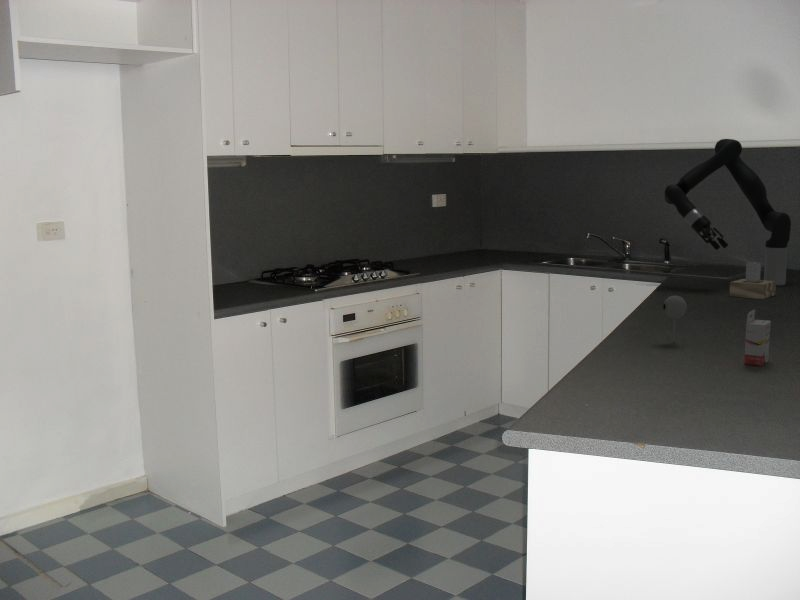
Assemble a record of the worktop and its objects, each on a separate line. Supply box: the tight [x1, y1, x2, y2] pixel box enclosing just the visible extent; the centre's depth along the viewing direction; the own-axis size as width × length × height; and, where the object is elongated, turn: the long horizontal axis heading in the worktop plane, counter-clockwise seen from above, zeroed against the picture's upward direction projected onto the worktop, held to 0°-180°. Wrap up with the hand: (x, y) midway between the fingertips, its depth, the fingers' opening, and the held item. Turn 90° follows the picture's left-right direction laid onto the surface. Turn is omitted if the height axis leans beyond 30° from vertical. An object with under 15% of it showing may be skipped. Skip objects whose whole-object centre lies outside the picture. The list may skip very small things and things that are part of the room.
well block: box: [729, 278, 777, 300], centre depth 376 cm, size 14×14×6 cm
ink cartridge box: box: [744, 309, 772, 367], centre depth 250 cm, size 9×5×15 cm, turn 145°
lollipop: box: [662, 295, 688, 343], centre depth 281 cm, size 7×7×15 cm
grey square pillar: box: [745, 261, 762, 283], centre depth 375 cm, size 4×4×14 cm
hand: (722, 247), depth 384 cm, fingers open, 8 cm apart
